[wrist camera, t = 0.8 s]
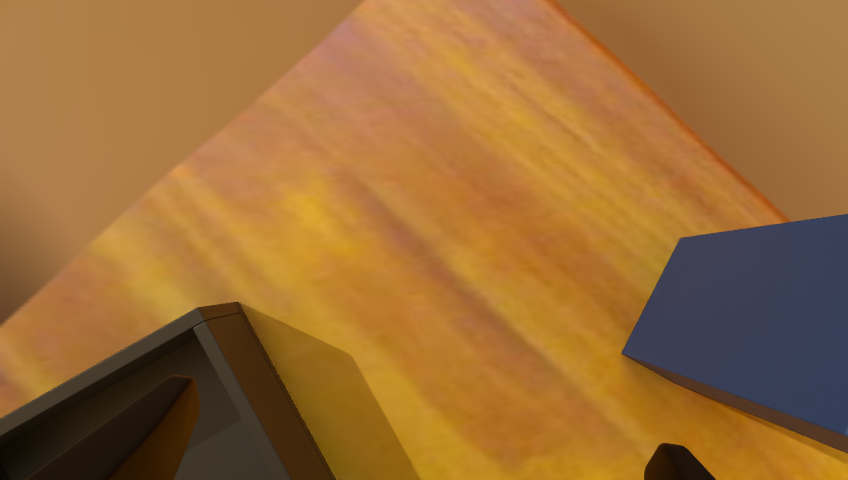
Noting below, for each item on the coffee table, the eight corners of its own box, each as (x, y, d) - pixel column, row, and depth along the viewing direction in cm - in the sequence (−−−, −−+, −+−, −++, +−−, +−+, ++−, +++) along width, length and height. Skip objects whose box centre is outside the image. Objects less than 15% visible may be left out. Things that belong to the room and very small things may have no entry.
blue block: (733, 266, 25) (1064, 257, 12) (674, 383, 24) (957, 498, 12) (680, 237, 25) (955, 197, 12) (620, 353, 24) (844, 435, 12)
